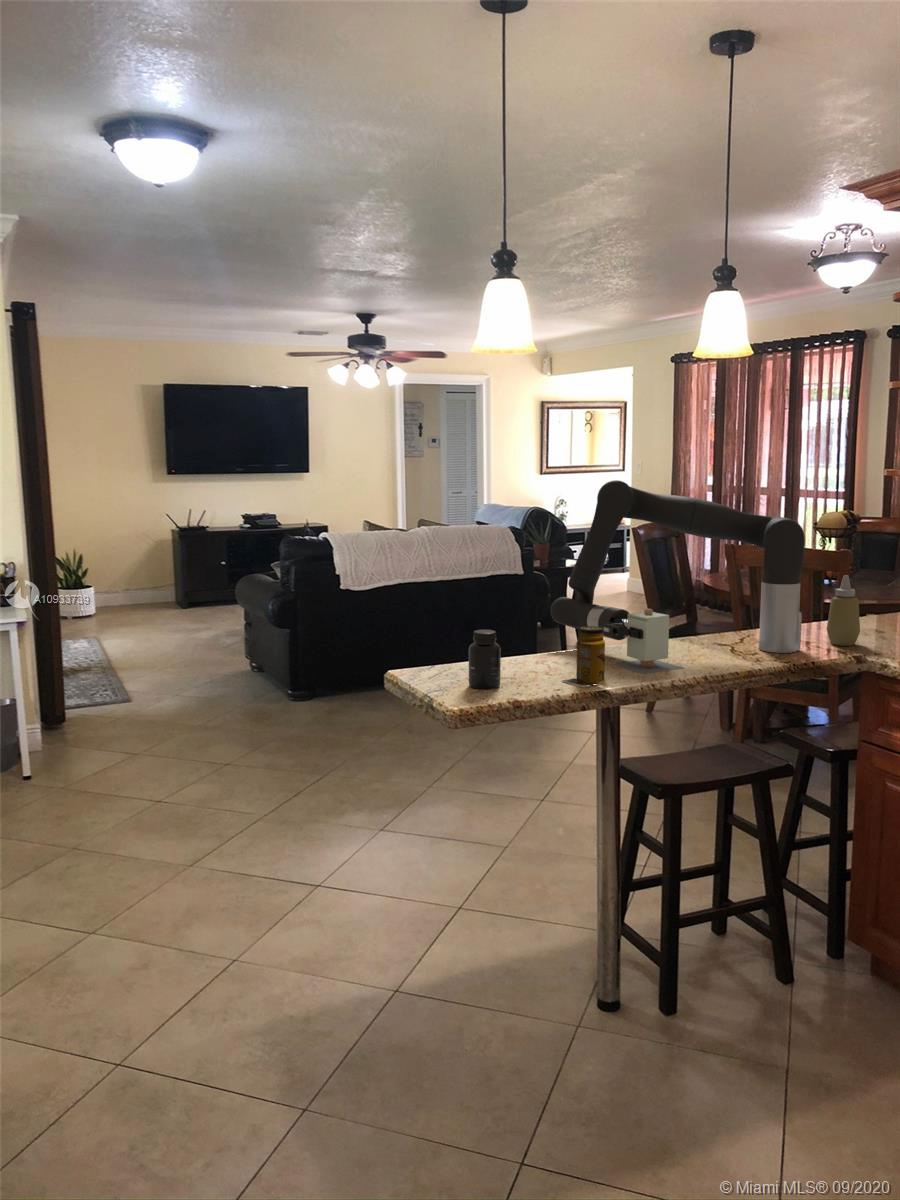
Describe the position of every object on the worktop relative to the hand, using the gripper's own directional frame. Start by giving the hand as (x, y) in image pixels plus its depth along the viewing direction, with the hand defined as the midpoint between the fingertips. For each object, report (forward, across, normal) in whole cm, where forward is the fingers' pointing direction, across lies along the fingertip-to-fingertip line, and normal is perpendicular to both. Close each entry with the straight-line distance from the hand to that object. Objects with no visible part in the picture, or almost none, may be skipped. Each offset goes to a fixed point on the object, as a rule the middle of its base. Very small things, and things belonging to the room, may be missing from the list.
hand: (654, 633), depth 205 cm
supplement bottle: (-6, -41, +9) cm, 42 cm away
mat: (-2, 0, +9) cm, 9 cm away
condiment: (+2, -20, +9) cm, 22 cm away
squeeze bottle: (+1, +62, +9) cm, 63 cm away
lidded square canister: (-2, 0, +6) cm, 6 cm away
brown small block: (-2, 0, +8) cm, 8 cm away
